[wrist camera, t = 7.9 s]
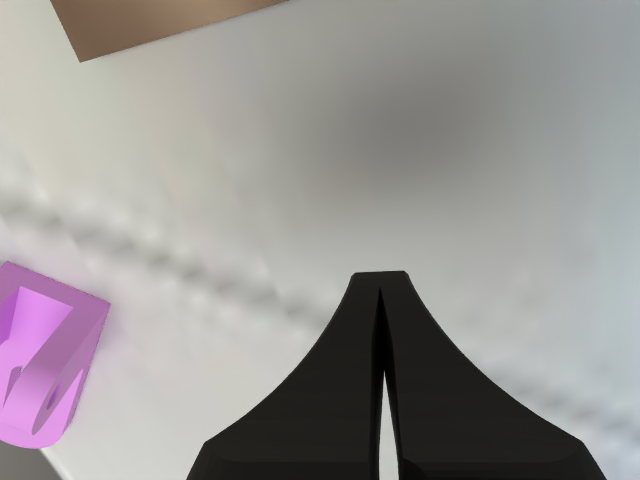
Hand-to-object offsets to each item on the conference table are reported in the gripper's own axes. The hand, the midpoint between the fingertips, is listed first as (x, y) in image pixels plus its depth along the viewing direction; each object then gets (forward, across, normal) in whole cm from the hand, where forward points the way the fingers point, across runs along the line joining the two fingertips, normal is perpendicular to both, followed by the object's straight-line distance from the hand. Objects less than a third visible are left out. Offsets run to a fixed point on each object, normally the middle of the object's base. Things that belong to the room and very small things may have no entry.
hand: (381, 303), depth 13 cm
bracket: (+11, +20, +11) cm, 26 cm away
